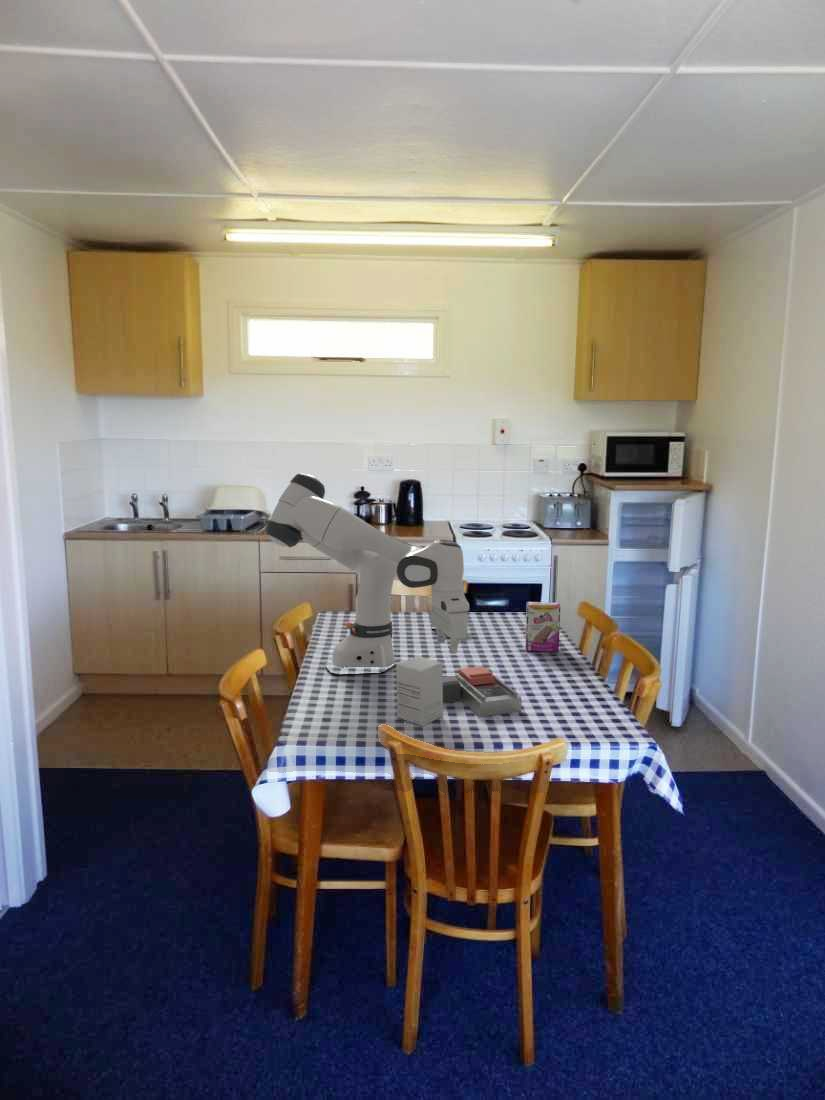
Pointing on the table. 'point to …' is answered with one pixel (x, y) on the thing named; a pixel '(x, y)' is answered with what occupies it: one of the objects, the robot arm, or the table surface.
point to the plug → (451, 689)
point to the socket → (489, 697)
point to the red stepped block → (477, 675)
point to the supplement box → (419, 690)
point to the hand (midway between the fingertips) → (447, 647)
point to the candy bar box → (542, 627)
